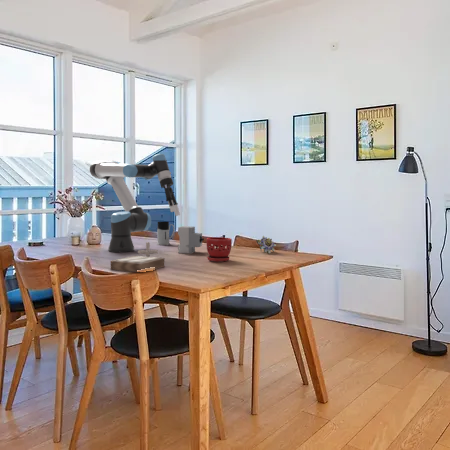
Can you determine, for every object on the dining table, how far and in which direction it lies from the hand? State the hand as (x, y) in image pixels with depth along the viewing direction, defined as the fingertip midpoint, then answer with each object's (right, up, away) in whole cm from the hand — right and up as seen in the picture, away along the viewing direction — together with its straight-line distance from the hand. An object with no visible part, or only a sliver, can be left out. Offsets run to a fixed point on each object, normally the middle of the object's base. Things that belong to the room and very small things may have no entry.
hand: (175, 213), depth 272 cm
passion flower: (+52, -23, +3) cm, 57 cm away
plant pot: (+25, -25, -26) cm, 44 cm away
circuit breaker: (+9, -23, +5) cm, 25 cm away
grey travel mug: (-11, -20, +42) cm, 48 cm away
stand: (-13, -27, -47) cm, 56 cm away
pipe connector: (-11, -26, -29) cm, 40 cm away
